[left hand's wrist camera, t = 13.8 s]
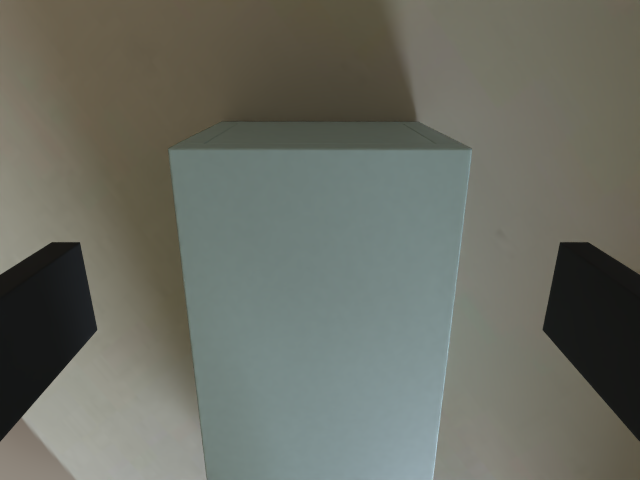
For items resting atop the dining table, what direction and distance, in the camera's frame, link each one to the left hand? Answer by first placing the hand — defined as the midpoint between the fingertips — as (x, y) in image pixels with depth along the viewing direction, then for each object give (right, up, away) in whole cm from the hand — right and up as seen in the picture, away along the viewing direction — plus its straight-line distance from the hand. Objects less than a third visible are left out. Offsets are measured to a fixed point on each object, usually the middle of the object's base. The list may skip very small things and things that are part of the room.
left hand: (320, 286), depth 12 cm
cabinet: (0, -1, +16) cm, 16 cm away
